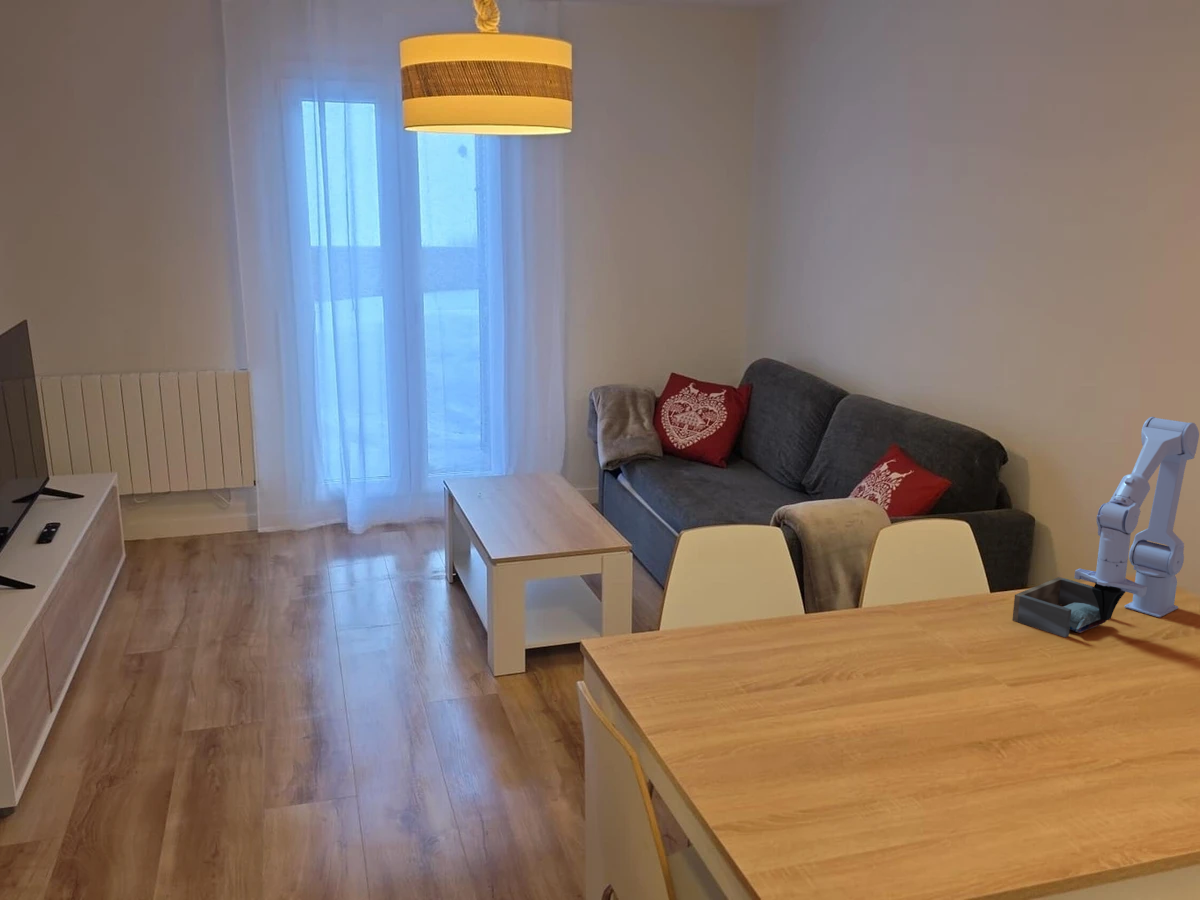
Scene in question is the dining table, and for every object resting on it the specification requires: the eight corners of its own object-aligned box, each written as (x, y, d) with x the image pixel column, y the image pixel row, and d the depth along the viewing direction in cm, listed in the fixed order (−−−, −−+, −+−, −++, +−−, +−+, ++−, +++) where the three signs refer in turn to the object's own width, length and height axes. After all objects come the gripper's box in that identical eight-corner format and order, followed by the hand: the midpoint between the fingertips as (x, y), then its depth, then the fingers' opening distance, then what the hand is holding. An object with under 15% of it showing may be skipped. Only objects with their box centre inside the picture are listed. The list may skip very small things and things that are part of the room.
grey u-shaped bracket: (1056, 601, 242) (1059, 576, 241) (1108, 617, 233) (1111, 591, 232) (1012, 620, 231) (1014, 594, 230) (1065, 637, 222) (1068, 611, 220)
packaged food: (1042, 625, 228) (1044, 604, 227) (1073, 614, 235) (1075, 593, 234) (1079, 639, 221) (1081, 617, 220) (1110, 627, 228) (1113, 606, 227)
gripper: (1070, 553, 224) (1063, 612, 228) (1138, 571, 213) (1130, 633, 216) (1086, 547, 229) (1080, 605, 232) (1154, 564, 218) (1146, 625, 221)
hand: (1105, 618), depth 224 cm, fingers closed
